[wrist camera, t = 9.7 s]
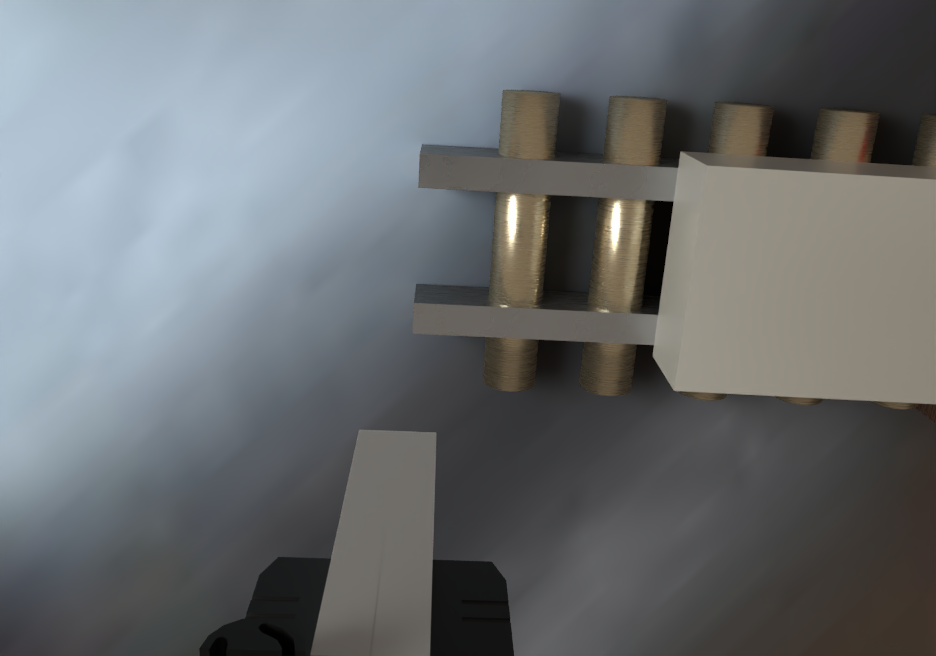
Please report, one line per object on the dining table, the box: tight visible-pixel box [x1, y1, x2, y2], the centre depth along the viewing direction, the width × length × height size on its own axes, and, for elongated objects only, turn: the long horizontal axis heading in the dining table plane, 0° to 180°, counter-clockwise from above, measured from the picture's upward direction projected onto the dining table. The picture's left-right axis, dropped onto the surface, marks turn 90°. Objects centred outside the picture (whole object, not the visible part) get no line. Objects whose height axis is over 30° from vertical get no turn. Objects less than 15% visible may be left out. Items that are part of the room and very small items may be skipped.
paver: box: [653, 151, 936, 404], centre depth 37 cm, size 9×12×4 cm
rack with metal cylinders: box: [413, 90, 936, 424], centre depth 39 cm, size 14×27×5 cm, turn 87°
